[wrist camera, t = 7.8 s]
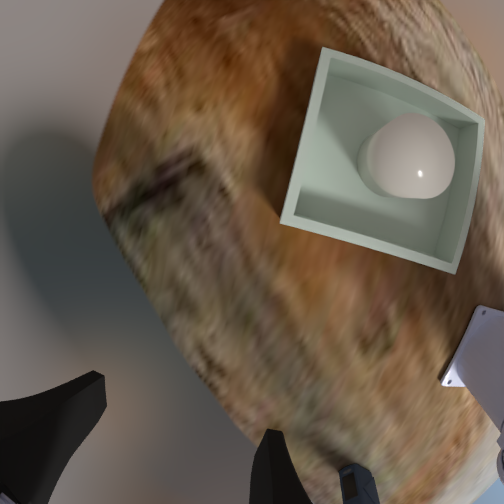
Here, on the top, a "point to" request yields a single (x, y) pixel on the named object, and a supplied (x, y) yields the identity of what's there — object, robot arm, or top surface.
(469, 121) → the bus tub
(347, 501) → the vaping device
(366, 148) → the white rounded cylinder
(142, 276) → the top surface
